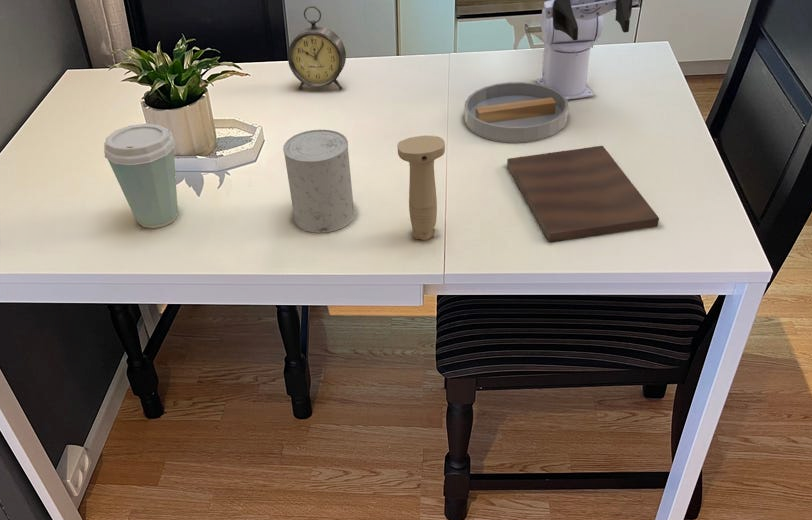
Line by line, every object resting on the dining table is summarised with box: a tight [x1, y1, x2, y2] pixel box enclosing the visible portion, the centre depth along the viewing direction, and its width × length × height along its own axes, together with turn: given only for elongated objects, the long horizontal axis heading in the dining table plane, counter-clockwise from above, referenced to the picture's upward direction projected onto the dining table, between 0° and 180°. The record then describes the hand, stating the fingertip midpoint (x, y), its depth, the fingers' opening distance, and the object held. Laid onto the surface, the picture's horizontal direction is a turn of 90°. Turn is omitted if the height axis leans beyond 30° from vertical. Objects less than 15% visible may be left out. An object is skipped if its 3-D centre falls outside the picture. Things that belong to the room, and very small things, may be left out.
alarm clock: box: [287, 5, 347, 90], centre depth 154 cm, size 11×5×16 cm, turn 77°
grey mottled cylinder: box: [282, 129, 356, 234], centre depth 119 cm, size 10×10×12 cm
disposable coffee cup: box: [103, 123, 179, 229], centre depth 122 cm, size 11×11×15 cm
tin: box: [464, 81, 569, 144], centre depth 141 cm, size 18×18×3 cm
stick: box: [476, 97, 556, 123], centre depth 141 cm, size 2×14×2 cm, turn 97°
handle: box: [397, 135, 446, 242], centre depth 112 cm, size 5×6×15 cm
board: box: [506, 145, 660, 243], centre depth 121 cm, size 22×16×2 cm
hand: (601, 30), depth 121 cm, fingers open, 7 cm apart
